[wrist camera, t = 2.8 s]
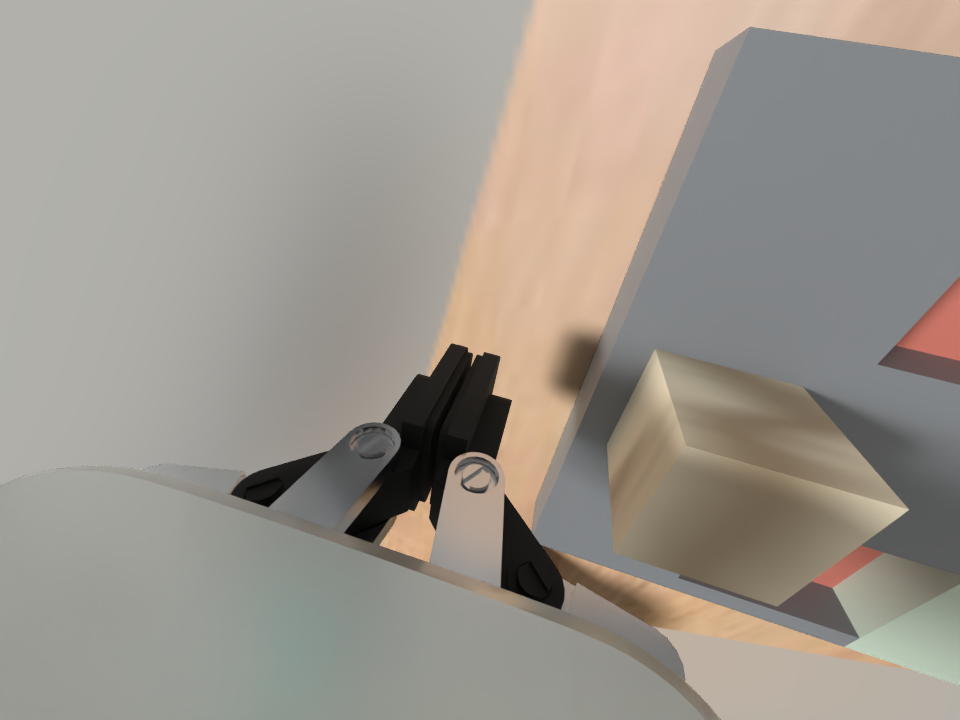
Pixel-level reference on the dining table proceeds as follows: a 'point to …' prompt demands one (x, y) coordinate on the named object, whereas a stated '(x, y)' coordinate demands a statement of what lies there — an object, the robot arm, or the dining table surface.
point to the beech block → (738, 480)
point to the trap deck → (806, 316)
